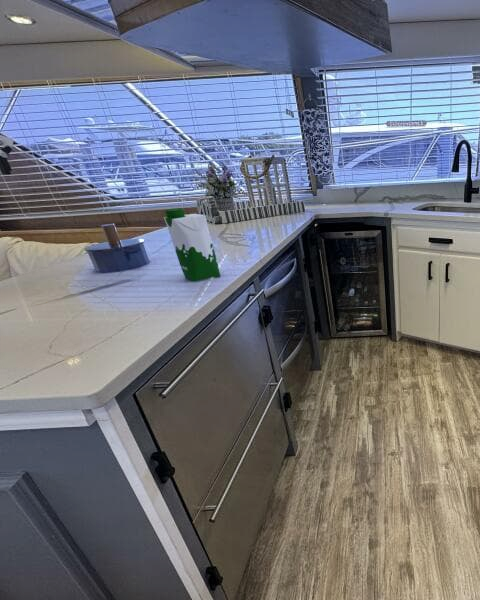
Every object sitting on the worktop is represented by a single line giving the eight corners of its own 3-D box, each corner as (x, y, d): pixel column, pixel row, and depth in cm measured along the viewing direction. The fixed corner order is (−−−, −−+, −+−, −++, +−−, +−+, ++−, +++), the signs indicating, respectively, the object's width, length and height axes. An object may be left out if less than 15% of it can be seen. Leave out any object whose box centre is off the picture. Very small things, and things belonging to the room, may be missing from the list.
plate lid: (100, 255, 92) (90, 230, 89) (76, 251, 98) (65, 228, 95) (154, 244, 104) (146, 221, 101) (130, 241, 110) (122, 219, 107)
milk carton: (181, 279, 94) (158, 209, 86) (213, 271, 101) (194, 205, 93) (192, 285, 89) (169, 211, 81) (225, 276, 96) (207, 207, 88)
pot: (117, 281, 95) (105, 253, 91) (85, 274, 103) (74, 248, 99) (165, 268, 106) (156, 243, 102) (133, 263, 114) (124, 239, 110)
